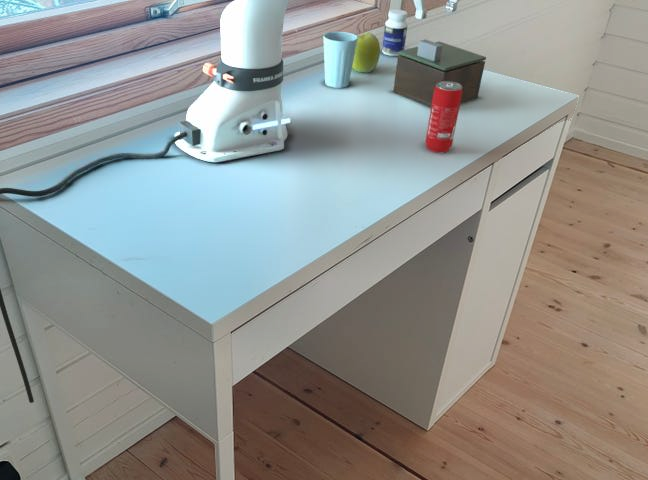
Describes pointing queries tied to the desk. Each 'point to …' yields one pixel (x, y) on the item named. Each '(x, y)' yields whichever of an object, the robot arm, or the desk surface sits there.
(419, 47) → the slide lid
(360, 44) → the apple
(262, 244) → the desk surface
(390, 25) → the pill bottle
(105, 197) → the desk surface
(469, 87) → the wooden box
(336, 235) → the desk surface
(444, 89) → the beverage can
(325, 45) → the cup
